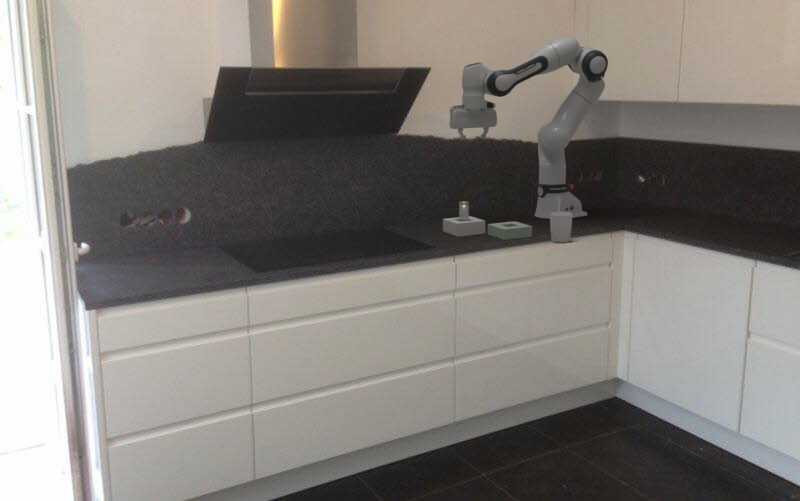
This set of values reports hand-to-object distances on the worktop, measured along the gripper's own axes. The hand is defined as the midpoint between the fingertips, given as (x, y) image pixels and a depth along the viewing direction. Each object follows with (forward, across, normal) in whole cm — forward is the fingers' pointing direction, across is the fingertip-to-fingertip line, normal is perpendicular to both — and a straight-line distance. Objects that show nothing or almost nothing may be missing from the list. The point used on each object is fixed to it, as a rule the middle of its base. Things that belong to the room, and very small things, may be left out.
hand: (473, 139), depth 302 cm
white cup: (+34, +9, -49) cm, 60 cm away
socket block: (+34, -2, -32) cm, 47 cm away
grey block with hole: (+34, -14, -18) cm, 41 cm away
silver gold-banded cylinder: (+34, -14, -18) cm, 41 cm away
